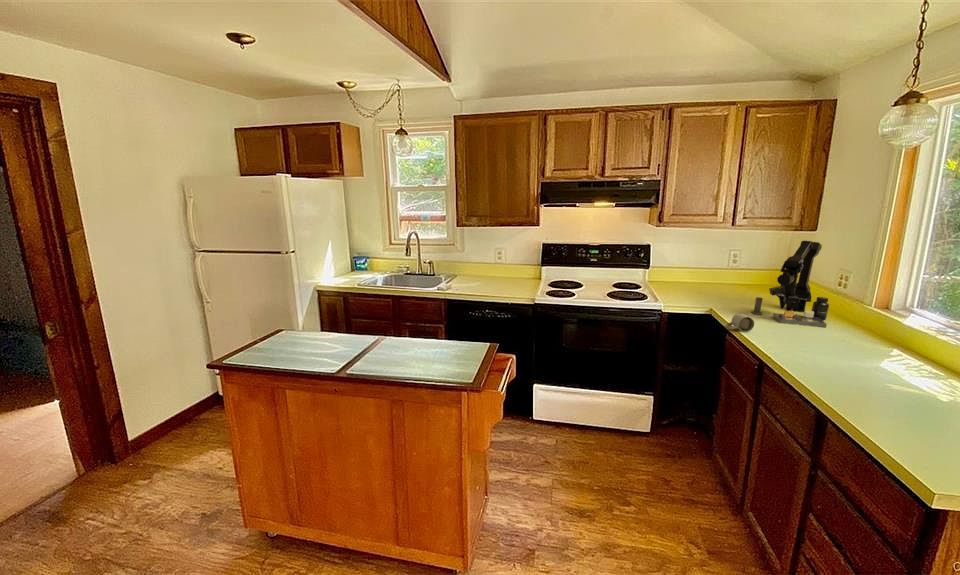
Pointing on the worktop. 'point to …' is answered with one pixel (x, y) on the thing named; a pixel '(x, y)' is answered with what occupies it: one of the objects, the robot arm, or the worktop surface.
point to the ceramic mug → (741, 323)
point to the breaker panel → (799, 320)
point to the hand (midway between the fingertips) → (784, 310)
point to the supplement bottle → (820, 308)
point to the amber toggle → (788, 313)
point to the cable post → (757, 306)
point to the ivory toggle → (808, 314)
